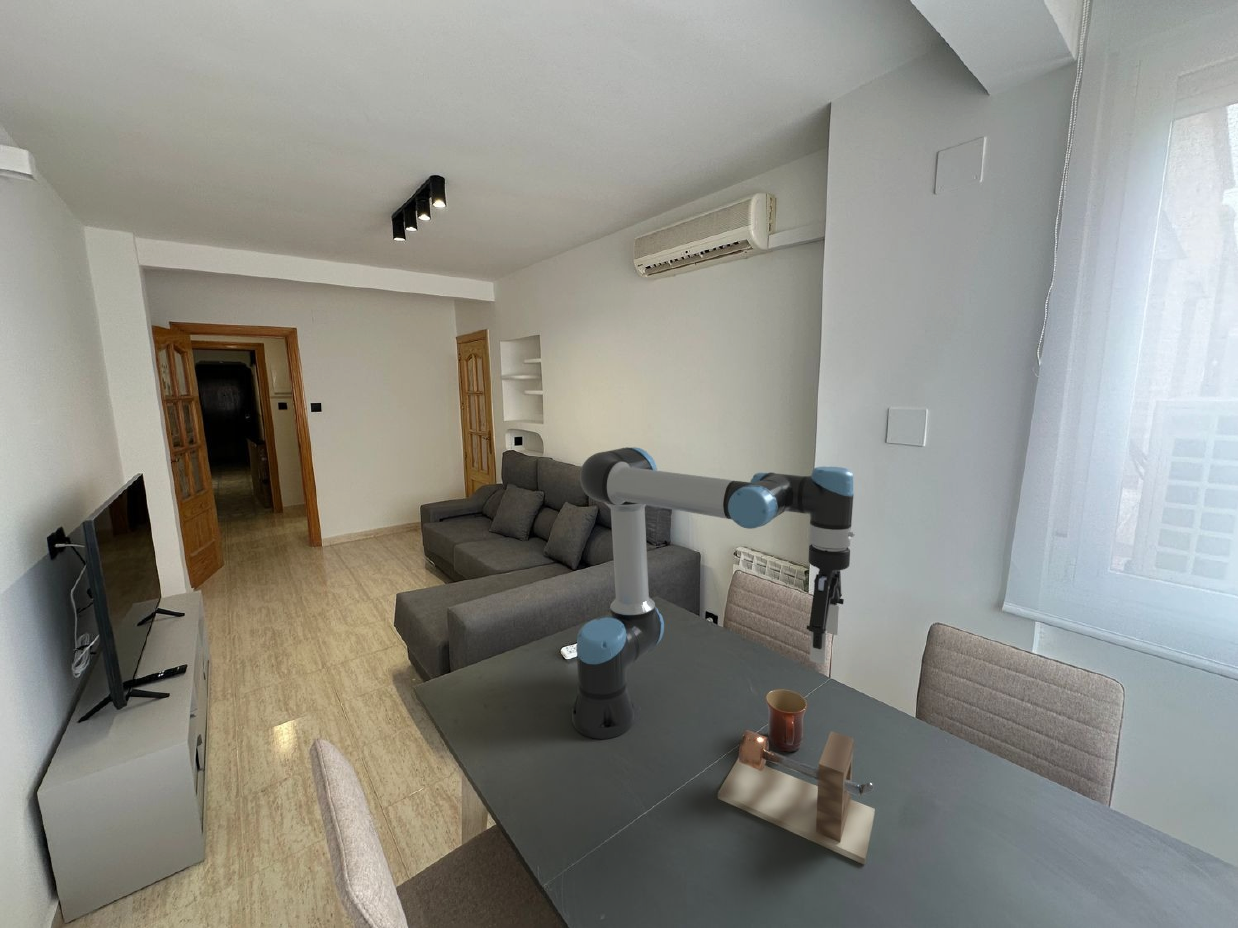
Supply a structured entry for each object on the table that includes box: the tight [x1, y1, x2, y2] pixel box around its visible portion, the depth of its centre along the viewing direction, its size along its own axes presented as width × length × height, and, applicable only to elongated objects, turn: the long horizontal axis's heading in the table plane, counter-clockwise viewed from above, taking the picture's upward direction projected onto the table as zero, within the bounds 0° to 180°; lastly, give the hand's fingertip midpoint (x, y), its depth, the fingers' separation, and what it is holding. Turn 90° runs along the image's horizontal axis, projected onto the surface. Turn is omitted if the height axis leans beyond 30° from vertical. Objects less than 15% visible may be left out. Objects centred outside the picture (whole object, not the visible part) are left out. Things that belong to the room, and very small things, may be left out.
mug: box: [765, 688, 808, 753], centre depth 111 cm, size 12×9×10 cm
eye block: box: [816, 730, 855, 842], centre depth 91 cm, size 4×10×13 cm, turn 146°
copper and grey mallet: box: [738, 729, 875, 797], centre depth 94 cm, size 24×6×6 cm, turn 56°
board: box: [717, 757, 876, 866], centre depth 96 cm, size 26×12×1 cm, turn 56°
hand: (824, 646), depth 103 cm, fingers open, 13 cm apart
